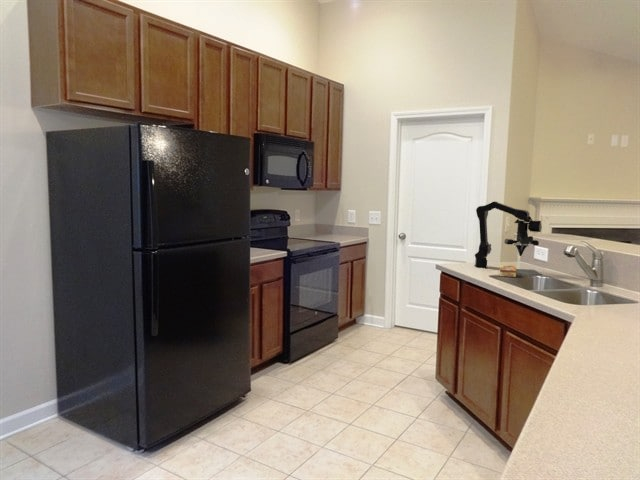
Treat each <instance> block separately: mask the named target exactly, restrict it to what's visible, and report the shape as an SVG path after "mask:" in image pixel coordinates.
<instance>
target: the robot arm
mask: <svg viewBox="0 0 640 480" xmlns="http://www.w3.org/2000/svg"><path fill="white" fill-rule="evenodd" d="M494 209H495V210H499V211H502V212H504V213H507V214H510V215H512V216H514V217H515V218H517V219H516V220H515V221H514V224H517V230H516V239H515V240H514V239H513V238H505V239H504V244H506V245H510V246H511V245H514V246H515V247H516V249H517V252H518V256H519V257H522V255H523V253H524V252H525V250H526V248H527V247H529V244H530V245H533V246H539V244H540V243H539V240H537V239H534V237H533V236H532V235H531V236H529V233H528V231H529V232H532V233H533V232H534V233H541V232H542V221H541V220H533V219H532V217H531V216H530V212H529V211H528V210H526V209H521V208H514V207H512V206H509V205H506V204H503V203H501V202H498V201H496V200H495V201H491V203H488V204H485V205H480V206H477V207H476V209H475V212H476V216H477V218H478V223H479V239H480V241H479V242H480V243H479V245H478V251H477V252H476V253H475V254H474V256H475V257H474V258H475V259H474V260H475V261H474V267H475V268H484V269H485V268H488V267H487V266H488V260H487V257H488V255H490V254H491V251H492V250H493V249H492V244H491V243H489V241H488V240H489V238H488V225H487V224H488V221H487V219H488V216H489V211H492V210H494Z"/></svg>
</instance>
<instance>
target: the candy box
mask: <svg viewBox="0 0 640 480" xmlns="http://www.w3.org/2000/svg"><path fill="white" fill-rule="evenodd" d="M516 269H517V267H516V265H505V264H502V265H500V266H499V276H500V277H506V278H507V277H509V278H516V277H517V274H516Z"/></svg>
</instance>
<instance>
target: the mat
mask: <svg viewBox="0 0 640 480" xmlns="http://www.w3.org/2000/svg"><path fill="white" fill-rule="evenodd" d="M516 275H531V276H533V275H534V276H543V274H542V273H541V272H539V271H537V270H535V269H528V268H527V269H526V268H523V269H522V268H516Z"/></svg>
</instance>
